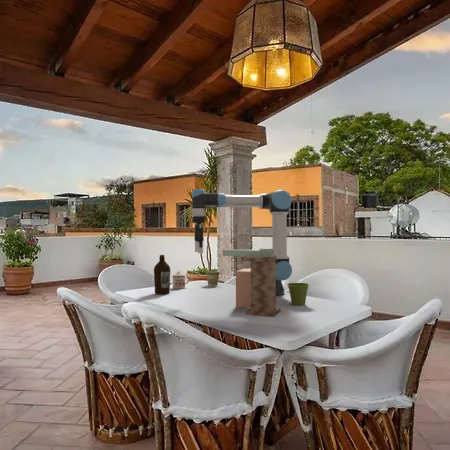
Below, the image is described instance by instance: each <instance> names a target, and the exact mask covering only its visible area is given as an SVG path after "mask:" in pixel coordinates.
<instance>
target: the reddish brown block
mask: <svg viewBox="0 0 450 450" xmlns="http://www.w3.org/2000/svg"><path fill="white" fill-rule="evenodd" d="M235 307H237V308H247V309H248V308H249V309H251V268H242V269H238V270H236V271H235Z"/></svg>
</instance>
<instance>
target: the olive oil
mask: <svg viewBox="0 0 450 450" xmlns="http://www.w3.org/2000/svg"><path fill="white" fill-rule="evenodd" d="M158 258H159V261H158V262H157V263H156V264H155V265H154V267H153V279H154V282H153V283H154V294H155V295H159V296H163V295H169V294H171V293H170V292H171V291H170V290H171V289H170V287H171V267H170V265H169V264H168V263H167V261H165V260H166V259H165V254H159V257H158Z"/></svg>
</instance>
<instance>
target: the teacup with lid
mask: <svg viewBox="0 0 450 450" xmlns="http://www.w3.org/2000/svg"><path fill="white" fill-rule="evenodd" d="M186 279H187V281H186ZM189 280H190V279H189V277H187V276H186V275H185V274H184V273H182V272H181V271H180V270H179V271H177V272H176V273H174V274H172V289H175V290H182V289H185V288H186V285H187V284H188V283H189V282H190V281H189Z"/></svg>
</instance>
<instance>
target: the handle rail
mask: <svg viewBox="0 0 450 450" xmlns="http://www.w3.org/2000/svg"><path fill="white" fill-rule="evenodd" d="M224 256H225V257H244V256H253V257H273V256H275V253H274V248H272V247H262V248H261V247H260V248H259V249H222V257H224Z"/></svg>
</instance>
